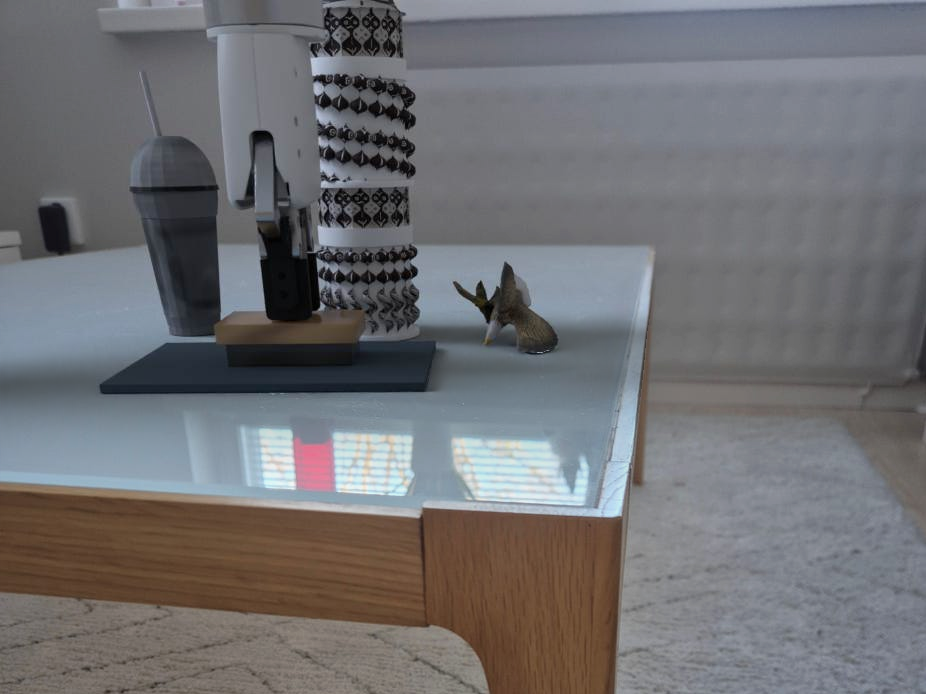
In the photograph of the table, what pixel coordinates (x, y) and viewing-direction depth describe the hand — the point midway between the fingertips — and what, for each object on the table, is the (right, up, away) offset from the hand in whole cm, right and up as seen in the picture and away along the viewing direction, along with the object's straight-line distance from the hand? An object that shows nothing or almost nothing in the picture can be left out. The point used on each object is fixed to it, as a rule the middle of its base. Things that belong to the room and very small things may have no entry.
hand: (294, 312), depth 68 cm
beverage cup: (-12, +4, +16) cm, 20 cm away
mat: (-1, -4, +1) cm, 4 cm away
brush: (0, -3, +2) cm, 3 cm away
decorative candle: (+4, +3, +14) cm, 15 cm away
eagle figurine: (+16, 0, +9) cm, 19 cm away
